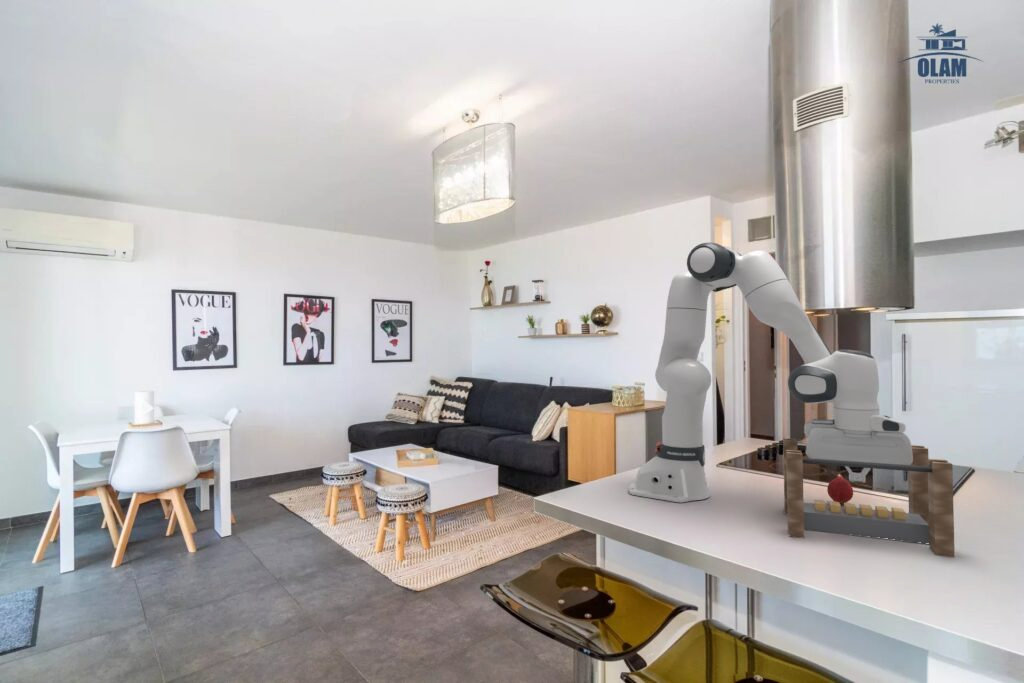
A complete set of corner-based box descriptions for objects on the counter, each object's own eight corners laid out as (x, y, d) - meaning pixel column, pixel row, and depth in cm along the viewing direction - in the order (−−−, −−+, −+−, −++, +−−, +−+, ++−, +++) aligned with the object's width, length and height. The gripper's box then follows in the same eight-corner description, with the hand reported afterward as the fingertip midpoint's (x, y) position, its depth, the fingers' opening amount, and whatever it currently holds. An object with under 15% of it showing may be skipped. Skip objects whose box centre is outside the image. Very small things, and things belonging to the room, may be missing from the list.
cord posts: (788, 536, 115) (787, 453, 115) (784, 509, 133) (783, 438, 133) (954, 557, 102) (952, 464, 103) (924, 524, 120) (923, 445, 121)
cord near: (792, 462, 116) (791, 457, 116) (791, 461, 117) (791, 456, 117) (947, 474, 104) (947, 468, 104) (945, 473, 105) (945, 467, 105)
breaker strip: (799, 528, 119) (799, 504, 119) (797, 518, 126) (796, 495, 126) (929, 544, 109) (929, 517, 109) (918, 531, 116) (918, 506, 116)
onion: (857, 509, 133) (857, 477, 133) (833, 507, 134) (832, 476, 134) (847, 502, 138) (847, 472, 138) (824, 501, 140) (823, 471, 140)
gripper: (805, 420, 119) (806, 480, 119) (914, 425, 111) (915, 489, 111) (802, 416, 125) (803, 474, 125) (906, 421, 116) (908, 482, 116)
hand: (857, 481), depth 118 cm, fingers closed
